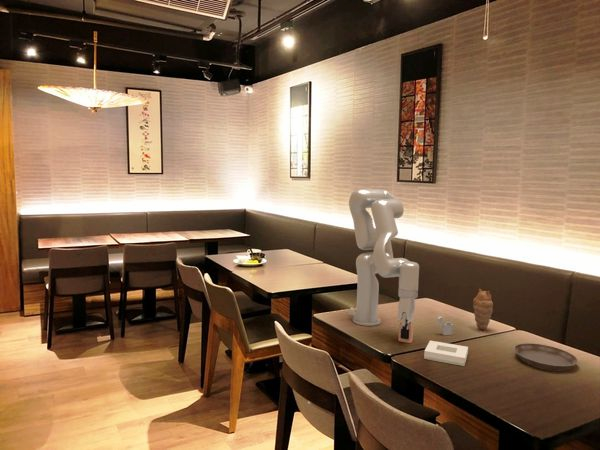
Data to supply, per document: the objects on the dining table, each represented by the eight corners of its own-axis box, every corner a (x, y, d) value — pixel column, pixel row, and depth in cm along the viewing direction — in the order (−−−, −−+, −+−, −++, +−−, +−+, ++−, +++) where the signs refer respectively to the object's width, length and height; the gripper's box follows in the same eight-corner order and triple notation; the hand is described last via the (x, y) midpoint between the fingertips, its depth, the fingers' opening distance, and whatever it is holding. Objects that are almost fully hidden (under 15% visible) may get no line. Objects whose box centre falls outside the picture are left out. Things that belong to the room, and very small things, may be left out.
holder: (424, 358, 170) (424, 350, 170) (429, 347, 181) (430, 340, 181) (464, 366, 165) (465, 358, 164) (467, 354, 175) (468, 346, 175)
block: (398, 341, 188) (399, 324, 187) (400, 338, 191) (400, 322, 190) (410, 343, 186) (411, 326, 185) (412, 340, 188) (413, 324, 188)
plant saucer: (576, 359, 175) (577, 350, 174) (577, 379, 157) (578, 369, 157) (516, 347, 185) (517, 339, 185) (510, 365, 167) (511, 356, 167)
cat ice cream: (467, 328, 206) (470, 288, 204) (480, 325, 210) (483, 286, 208) (483, 334, 198) (486, 293, 196) (496, 332, 202) (499, 291, 200)
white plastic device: (450, 333, 199) (451, 315, 198) (452, 334, 197) (454, 316, 196) (435, 334, 197) (436, 315, 196) (437, 335, 195) (438, 317, 195)
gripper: (403, 287, 195) (400, 329, 197) (393, 296, 180) (391, 342, 182) (421, 289, 192) (418, 332, 194) (413, 298, 177) (410, 345, 179)
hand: (405, 337), depth 188 cm, fingers closed on block, 2 cm apart
